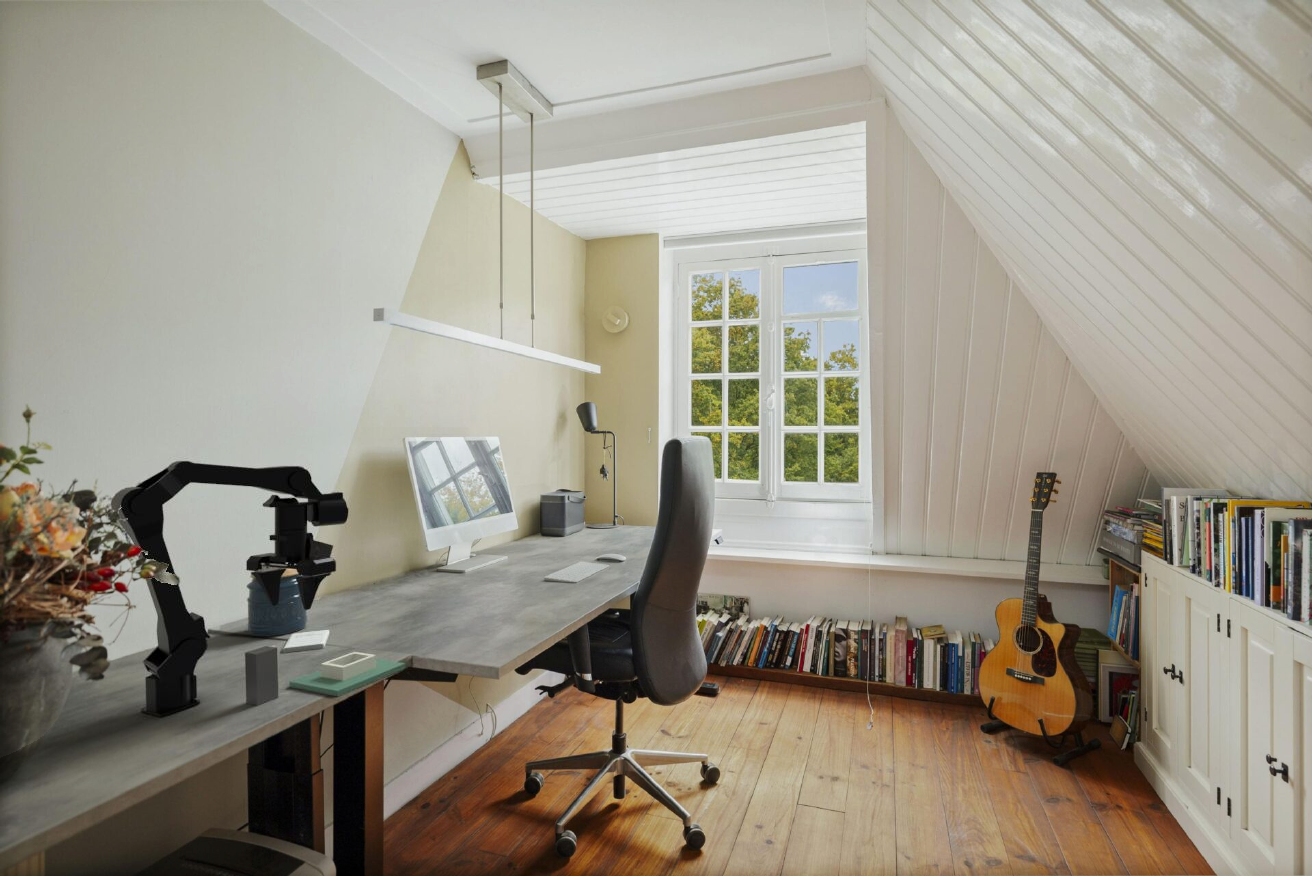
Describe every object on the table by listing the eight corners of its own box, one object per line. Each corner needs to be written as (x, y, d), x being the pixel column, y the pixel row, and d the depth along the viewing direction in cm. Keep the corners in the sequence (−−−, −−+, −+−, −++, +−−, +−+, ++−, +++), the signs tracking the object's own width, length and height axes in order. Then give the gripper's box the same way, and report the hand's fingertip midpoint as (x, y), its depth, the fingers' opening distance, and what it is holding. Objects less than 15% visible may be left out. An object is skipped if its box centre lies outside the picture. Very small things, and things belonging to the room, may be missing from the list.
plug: (257, 705, 119) (255, 654, 119) (246, 703, 120) (245, 652, 120) (282, 695, 123) (281, 646, 123) (271, 693, 124) (270, 644, 124)
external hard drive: (282, 655, 149) (291, 639, 160) (324, 650, 152) (329, 635, 163) (282, 648, 149) (291, 633, 160) (323, 643, 152) (329, 628, 163)
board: (337, 696, 122) (337, 677, 122) (289, 686, 128) (289, 668, 128) (405, 668, 137) (404, 651, 137) (359, 660, 142) (358, 644, 142)
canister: (306, 632, 165) (305, 560, 165) (245, 640, 159) (243, 565, 159) (308, 620, 177) (306, 552, 177) (250, 627, 171) (248, 557, 171)
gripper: (358, 526, 138) (358, 602, 138) (294, 523, 145) (294, 595, 145) (311, 532, 128) (311, 615, 128) (244, 528, 135) (244, 606, 135)
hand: (290, 607), depth 134 cm, fingers open, 9 cm apart
